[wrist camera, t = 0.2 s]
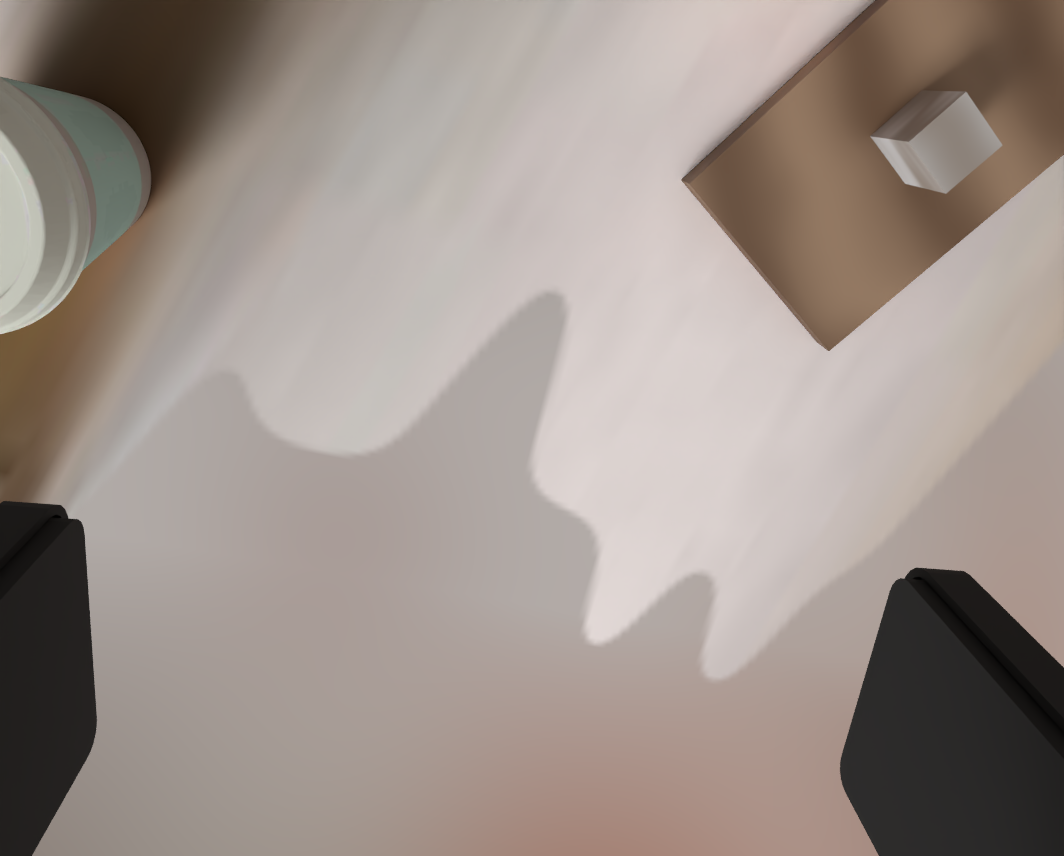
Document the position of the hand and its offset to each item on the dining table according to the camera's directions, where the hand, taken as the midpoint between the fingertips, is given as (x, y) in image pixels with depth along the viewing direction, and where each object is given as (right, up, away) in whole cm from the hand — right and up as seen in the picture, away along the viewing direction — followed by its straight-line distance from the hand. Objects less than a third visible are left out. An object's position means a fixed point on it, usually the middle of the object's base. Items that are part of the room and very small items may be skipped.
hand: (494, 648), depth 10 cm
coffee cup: (-18, +13, +27) cm, 35 cm away
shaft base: (+16, +15, +28) cm, 36 cm away
